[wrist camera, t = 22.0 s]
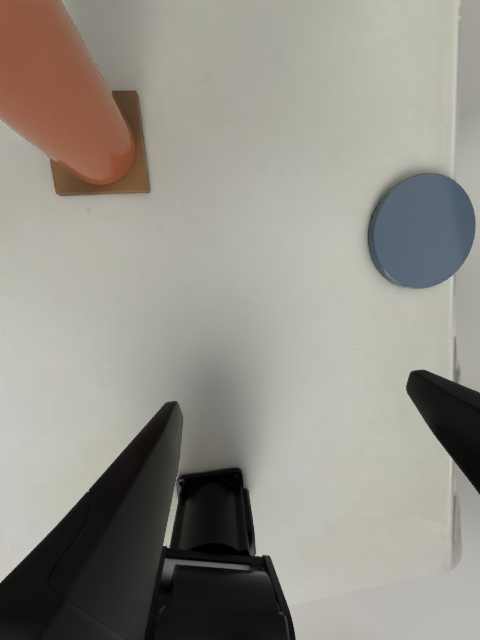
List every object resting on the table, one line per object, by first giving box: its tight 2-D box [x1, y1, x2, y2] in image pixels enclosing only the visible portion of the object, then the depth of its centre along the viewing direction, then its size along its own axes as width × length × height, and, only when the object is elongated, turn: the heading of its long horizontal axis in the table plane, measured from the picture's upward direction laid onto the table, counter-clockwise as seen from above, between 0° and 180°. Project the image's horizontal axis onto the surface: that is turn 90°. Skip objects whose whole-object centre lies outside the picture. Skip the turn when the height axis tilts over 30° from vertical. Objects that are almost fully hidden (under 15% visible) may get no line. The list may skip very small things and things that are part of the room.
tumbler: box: [0, 0, 136, 185], centre depth 11 cm, size 6×6×12 cm
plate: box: [368, 173, 475, 289], centre depth 21 cm, size 10×10×1 cm
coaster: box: [50, 91, 150, 196], centre depth 17 cm, size 7×7×1 cm
